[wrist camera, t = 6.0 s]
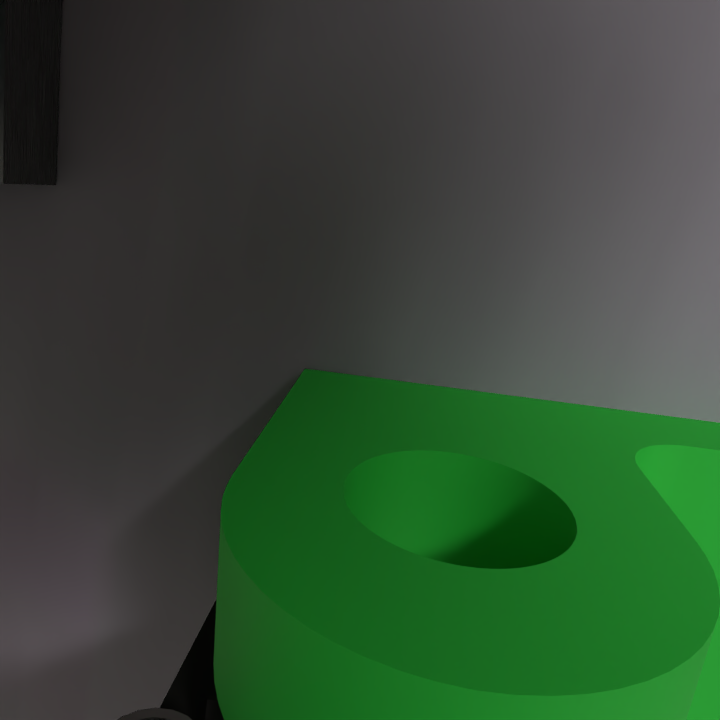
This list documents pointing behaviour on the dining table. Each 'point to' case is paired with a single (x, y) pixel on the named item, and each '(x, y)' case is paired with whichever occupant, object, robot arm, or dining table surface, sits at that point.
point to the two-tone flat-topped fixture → (29, 90)
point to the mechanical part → (468, 560)
